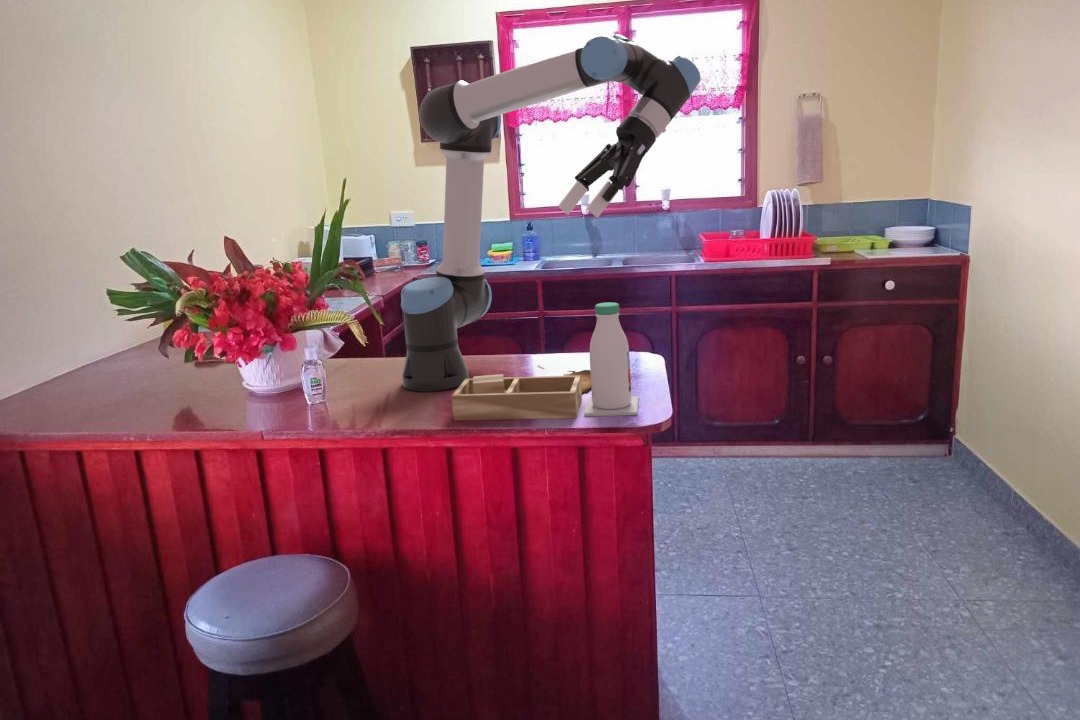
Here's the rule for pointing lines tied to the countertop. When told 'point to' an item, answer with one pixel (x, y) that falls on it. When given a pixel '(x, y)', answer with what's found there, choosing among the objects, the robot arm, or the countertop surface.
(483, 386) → the offcut top
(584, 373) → the parchment
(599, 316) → the milk bottle
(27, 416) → the countertop surface
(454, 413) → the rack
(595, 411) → the coaster
